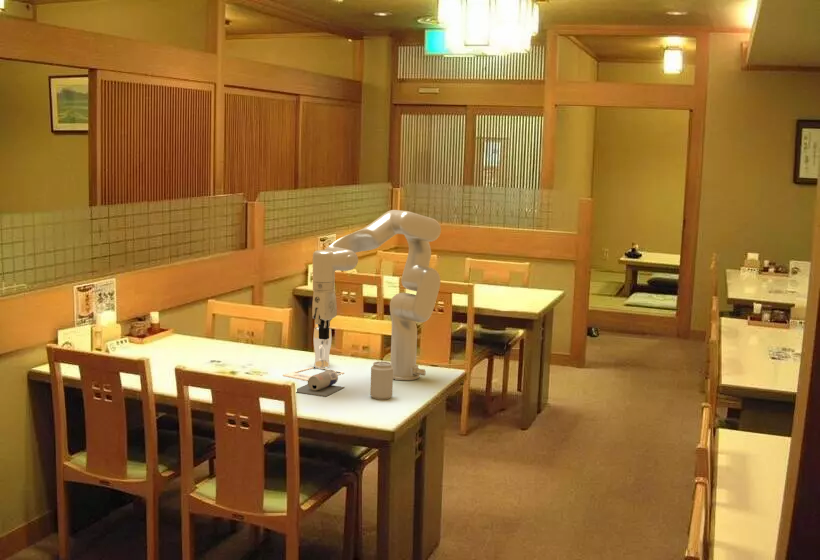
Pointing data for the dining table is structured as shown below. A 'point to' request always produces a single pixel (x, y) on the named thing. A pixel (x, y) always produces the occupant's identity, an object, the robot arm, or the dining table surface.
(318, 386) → the energy drink
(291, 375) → the photo frame
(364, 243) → the robot arm
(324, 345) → the beer glass
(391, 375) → the can
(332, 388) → the mat
